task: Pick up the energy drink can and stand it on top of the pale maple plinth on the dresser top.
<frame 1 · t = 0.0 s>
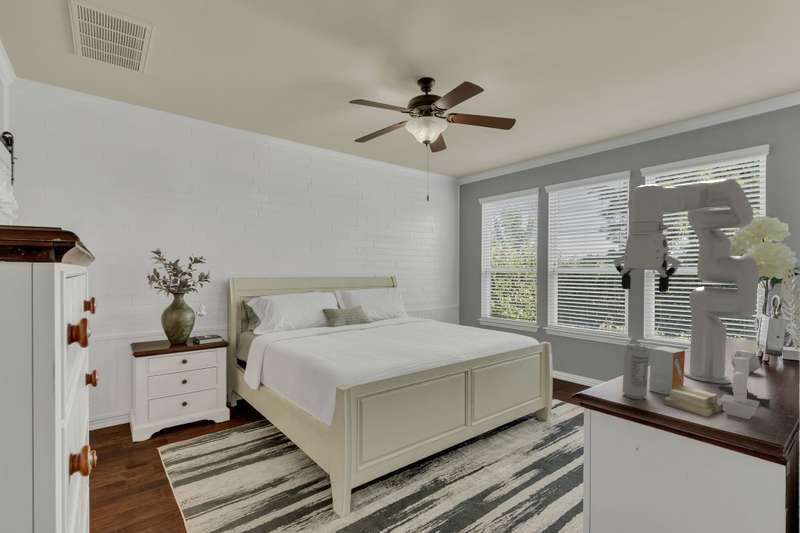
hand: (643, 290, 110), 31 cm above the table, tool pointing down, fingers open, 9 cm apart
die: (744, 372, 145), on the table
plinth: (692, 406, 106), on the table
animal figurine: (742, 402, 112), on the table
energy drink can: (634, 397, 113), on the table
small box: (666, 392, 119), on the table
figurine: (739, 415, 102), on the table
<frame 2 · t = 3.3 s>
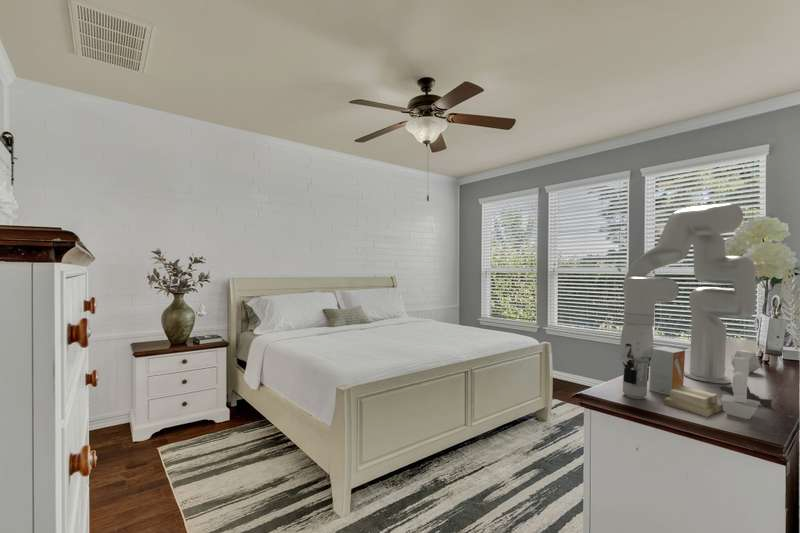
hand: (636, 380, 113), 5 cm above the table, tool pointing down, fingers closed on energy drink can, 6 cm apart
energy drink can: (634, 396, 113), on the table, touching gripper
everything else where it was.
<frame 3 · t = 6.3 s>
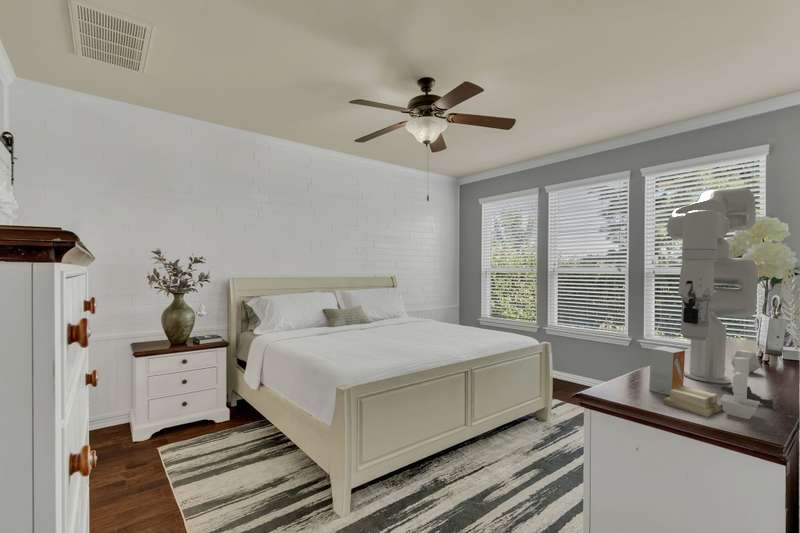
hand: (696, 321, 106), 23 cm above the table, tool pointing down, fingers closed on energy drink can, 6 cm apart
energy drink can: (694, 339, 106), point 18 cm above the table, touching gripper
everything else where it was.
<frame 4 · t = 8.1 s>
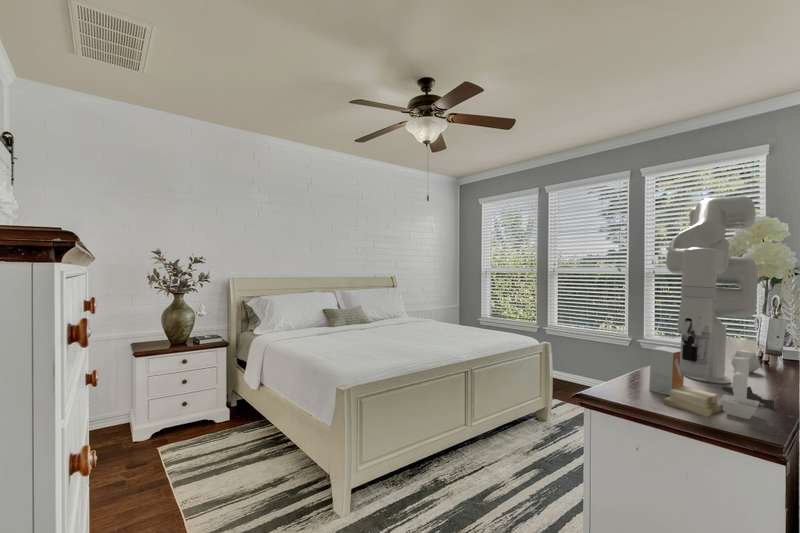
hand: (695, 358, 106), 13 cm above the table, tool pointing down, fingers closed on energy drink can, 6 cm apart
energy drink can: (693, 375, 106), point 8 cm above the table, touching gripper
everything else where it was.
when the fingers open (10 cm above the table, at t = 9.7 s): energy drink can drops 1 cm, resting on plinth.
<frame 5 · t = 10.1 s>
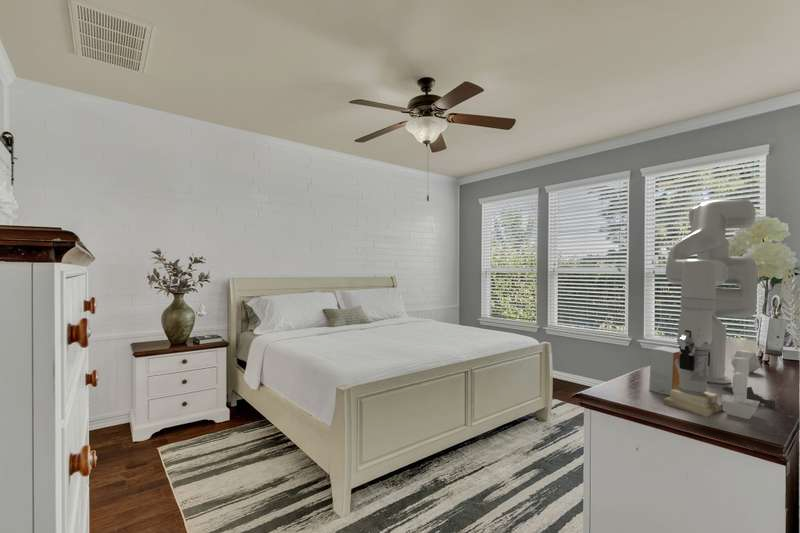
hand: (694, 367, 106), 11 cm above the table, tool pointing down, fingers open, 9 cm apart
energy drink can: (692, 392, 107), point 4 cm above the table, touching plinth
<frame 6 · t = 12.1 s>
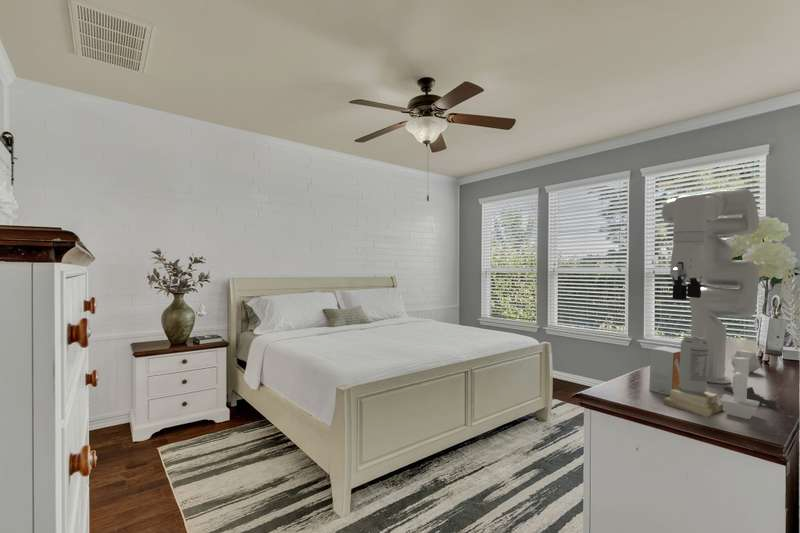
hand: (686, 298, 112), 29 cm above the table, tool pointing down, fingers open, 9 cm apart
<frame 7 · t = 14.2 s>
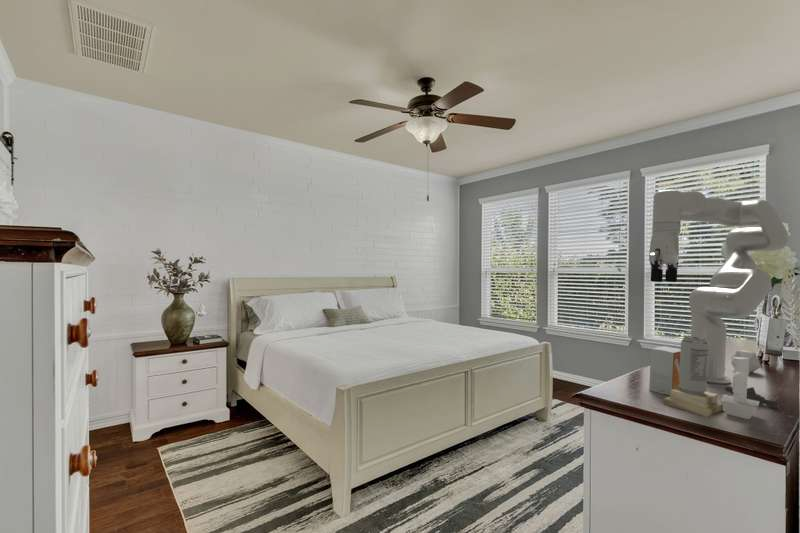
hand: (663, 281, 126), 33 cm above the table, tool pointing down, fingers open, 9 cm apart
at the end: energy drink can 0.4 cm from the plinth (horizontally); energy drink can tilted 0°; energy drink can touching plinth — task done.
